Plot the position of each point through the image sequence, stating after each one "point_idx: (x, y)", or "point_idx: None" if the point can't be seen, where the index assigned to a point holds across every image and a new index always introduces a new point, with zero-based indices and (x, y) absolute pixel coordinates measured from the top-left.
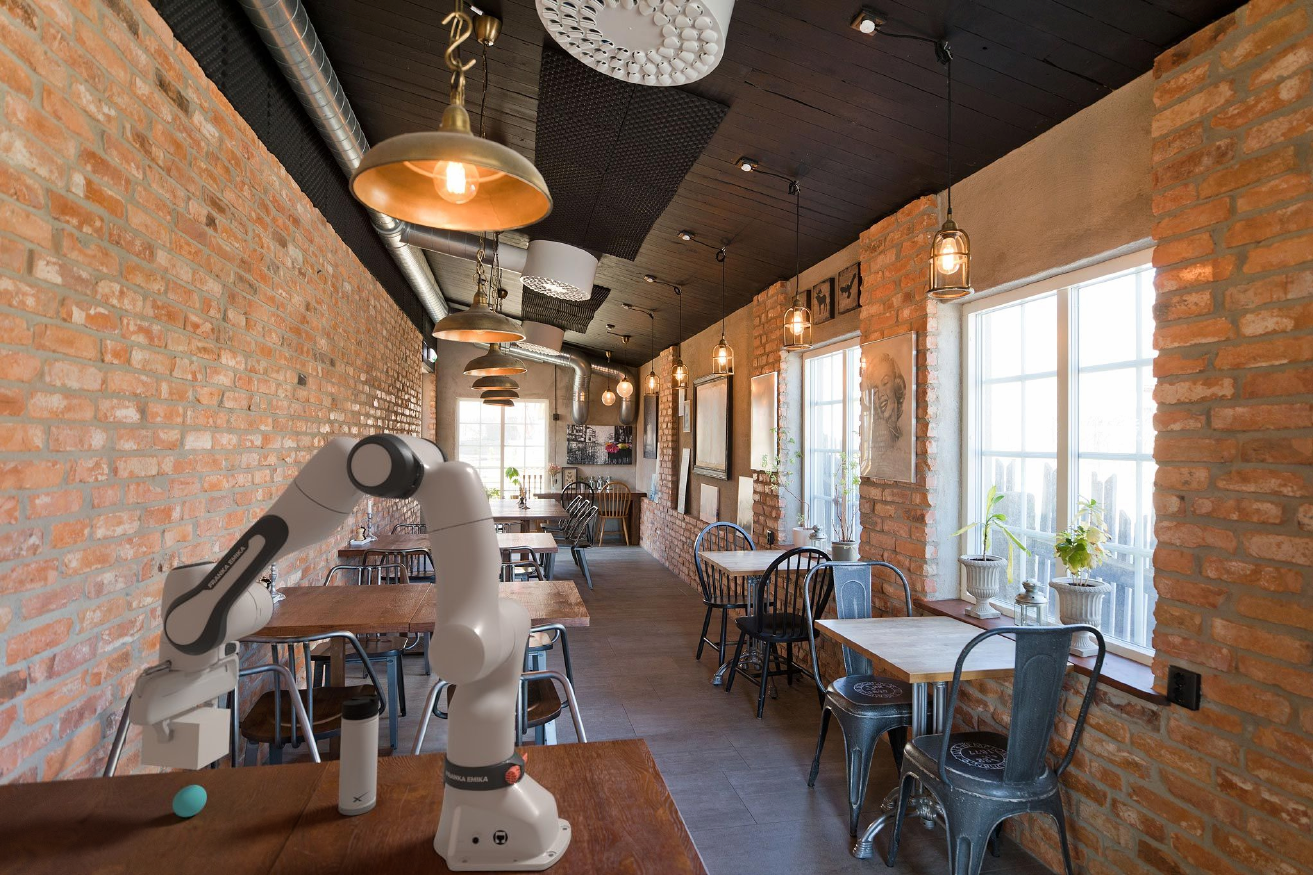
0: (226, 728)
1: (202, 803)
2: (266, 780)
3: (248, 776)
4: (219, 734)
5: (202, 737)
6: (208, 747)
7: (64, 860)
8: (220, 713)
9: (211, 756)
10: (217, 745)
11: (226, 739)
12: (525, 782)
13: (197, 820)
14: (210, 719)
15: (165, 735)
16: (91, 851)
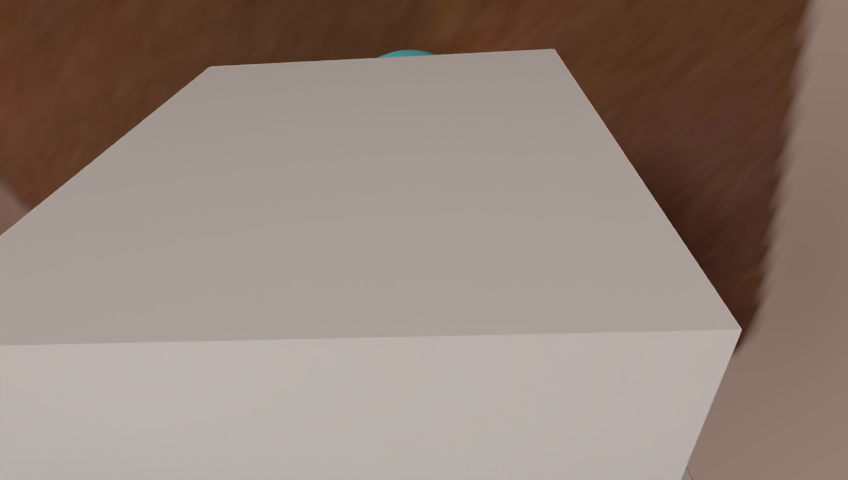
0: (137, 168)
1: (405, 50)
2: (27, 16)
3: (61, 131)
4: (267, 148)
5: (569, 168)
6: (441, 107)
7: (748, 242)
8: (123, 357)
9: (400, 73)
10: (317, 102)
11: (191, 111)
12: None
13: (441, 25)
14: (424, 320)
15: (687, 476)
16: (695, 213)
